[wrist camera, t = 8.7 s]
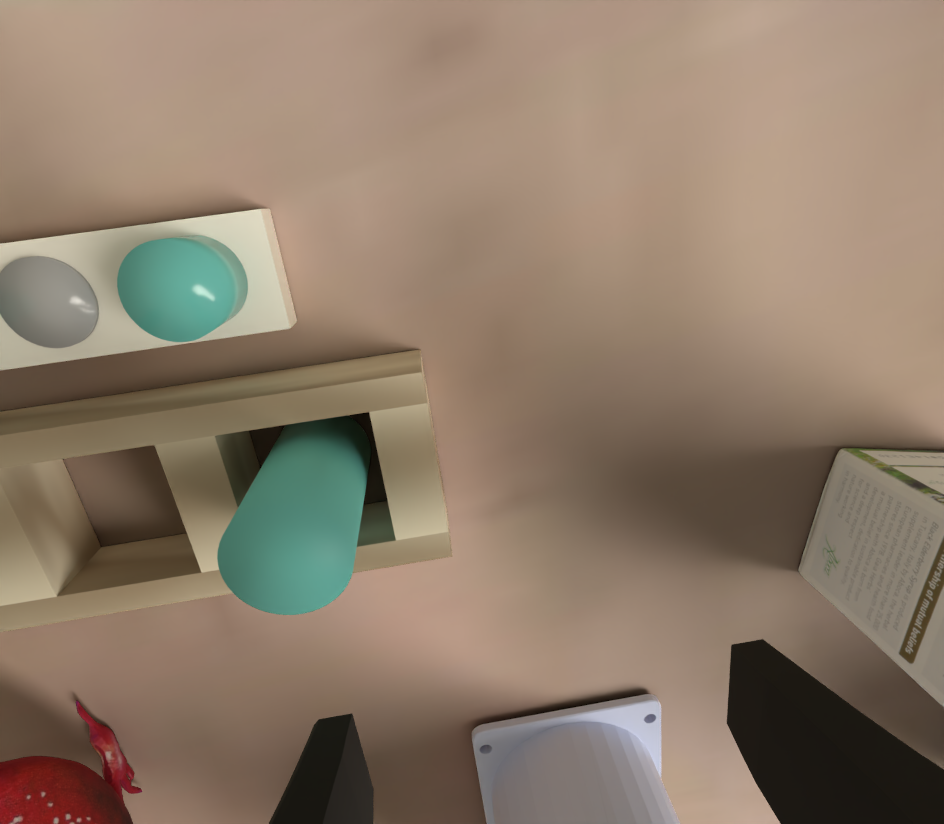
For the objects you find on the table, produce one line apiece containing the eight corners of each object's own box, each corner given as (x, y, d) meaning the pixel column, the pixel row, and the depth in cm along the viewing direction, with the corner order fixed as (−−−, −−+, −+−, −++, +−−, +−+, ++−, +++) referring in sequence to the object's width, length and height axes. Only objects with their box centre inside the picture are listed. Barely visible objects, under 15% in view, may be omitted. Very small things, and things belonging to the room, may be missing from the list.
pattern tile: (297, 321, 17) (273, 345, 14) (-120, 381, 16) (-233, 419, 13) (269, 208, 15) (238, 209, 13) (-181, 268, 15) (-319, 284, 12)
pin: (378, 483, 19) (365, 602, 13) (290, 499, 19) (238, 625, 13) (361, 401, 18) (338, 492, 12) (266, 417, 18) (199, 516, 12)
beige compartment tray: (447, 514, 19) (462, 639, 14) (-115, 606, 18) (-344, 781, 13) (420, 349, 17) (424, 419, 12) (-219, 444, 16) (-548, 569, 11)
